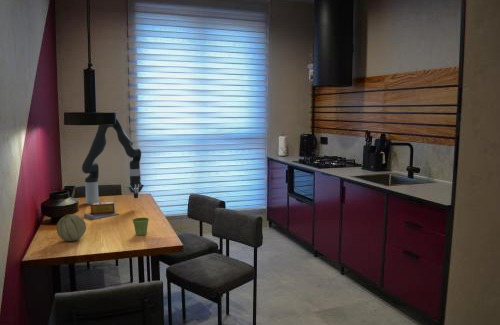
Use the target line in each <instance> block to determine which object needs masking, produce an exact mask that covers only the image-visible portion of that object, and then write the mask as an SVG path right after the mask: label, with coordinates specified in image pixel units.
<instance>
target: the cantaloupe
mask: <svg viewBox="0 0 500 325" xmlns="http://www.w3.org/2000/svg"><path fill="white" fill-rule="evenodd" d="M86 229H87V224H86V221H85V219H84V218H83V217H81V216H80V215H78V214H76V213H72V214H71V213H69V214H65V215H64V216H62V217H61V218H60V219H59V221H58V222H57V223H56V233H57V235H58V236H59V238H60V239H61V240H63V241H65V242H74V241H78V240H79V239H81V238H82V237H83V236H84V235H85V233H86Z"/></svg>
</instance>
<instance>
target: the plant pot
mask: <svg viewBox="0 0 500 325" xmlns="http://www.w3.org/2000/svg"><path fill="white" fill-rule="evenodd" d="M149 221H150V217H136V218H132V224H133V226H134V231H135V232H134V233H135V235H136V236H145V235H147V233H148V224H149Z"/></svg>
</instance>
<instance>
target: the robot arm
mask: <svg viewBox="0 0 500 325" xmlns="http://www.w3.org/2000/svg"><path fill="white" fill-rule="evenodd" d="M108 128H113V129H114V130H115V131H116V134H117V139H118V142H119V143H120V144H121V145H122V147H123V148H124V151H125V153H126V155H127V157H129V158H132V160H131V161H130V162H129V185H128V186H127V189H128V190H129V191H130V193H132V194H133V198H134V199H138V198H139V193H140V192H141V191H142V190H143V188H144V186H145V185H144V184H142V182H141V170H140V169H141V167H140V166H141V165H140V162H141V159H142V158H141V157H142V151H141V149H140V148H139V147H133V141H132V140H131V138H129V136H128V135H127V134H126V132H125V130H124V128H123V126H122V124H121V123H120V122H119V119H118V117H116V124H113V125H99V124H98V127H97V131H96V134H95V136H94V138H93V141H92V143H91V146H90V149H89V151H88V153H87V156H86V157H85V158H84V159H85V160H84V161H83V163H82V166H81V169H82V172H83V173H84V174H86V175H87V174H88V176H87V177H85V178H84V183H85V184H84V185H85V186H84V187H85V204H86V205H91V204H92V203H97V202H100V201H99V185H98V184H99V182H98V181H99V176H100V175H99V173H100V172H99V170H100V167H99V163H98V162H97V161H95V160H96V159H97V158H98V157H99V156H100V155H101V154H102V153H103V151H104V150H105V147H106V145H107V138H106V135H107V134H106V133H107V130H108Z"/></svg>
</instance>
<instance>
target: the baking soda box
mask: <svg viewBox="0 0 500 325" xmlns="http://www.w3.org/2000/svg"><path fill="white" fill-rule="evenodd" d="M116 211H117V204H116V201H99V202H97V203H92V204H90V215H94V214H104V213H116Z"/></svg>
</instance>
